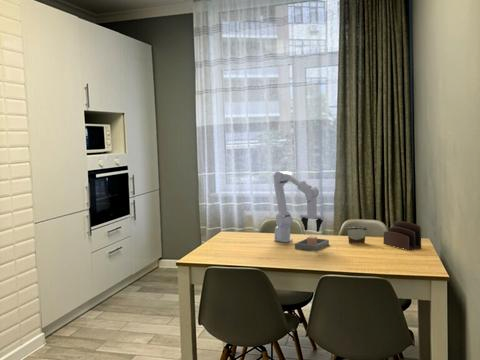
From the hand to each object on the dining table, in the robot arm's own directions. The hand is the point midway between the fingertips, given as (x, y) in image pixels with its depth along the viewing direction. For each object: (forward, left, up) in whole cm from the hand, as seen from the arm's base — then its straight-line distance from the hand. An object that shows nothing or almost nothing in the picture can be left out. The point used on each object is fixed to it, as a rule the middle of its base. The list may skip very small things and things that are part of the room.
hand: (312, 230), depth 262 cm
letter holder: (+45, +27, -10) cm, 53 cm away
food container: (+18, +24, -10) cm, 31 cm away
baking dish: (0, 0, -9) cm, 9 cm away
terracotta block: (0, 0, -9) cm, 9 cm away
